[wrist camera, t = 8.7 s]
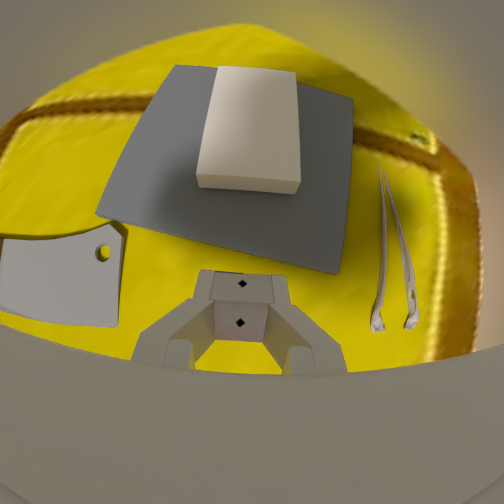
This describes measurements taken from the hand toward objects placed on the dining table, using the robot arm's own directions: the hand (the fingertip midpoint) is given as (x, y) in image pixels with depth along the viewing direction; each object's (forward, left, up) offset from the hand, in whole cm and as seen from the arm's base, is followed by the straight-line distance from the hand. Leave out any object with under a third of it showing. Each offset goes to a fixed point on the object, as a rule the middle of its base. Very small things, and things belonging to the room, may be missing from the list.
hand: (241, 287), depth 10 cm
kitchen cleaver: (-20, -3, -10) cm, 23 cm away
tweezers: (+11, +9, -10) cm, 17 cm away
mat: (-3, +12, -9) cm, 16 cm away
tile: (-1, +8, -7) cm, 11 cm away
